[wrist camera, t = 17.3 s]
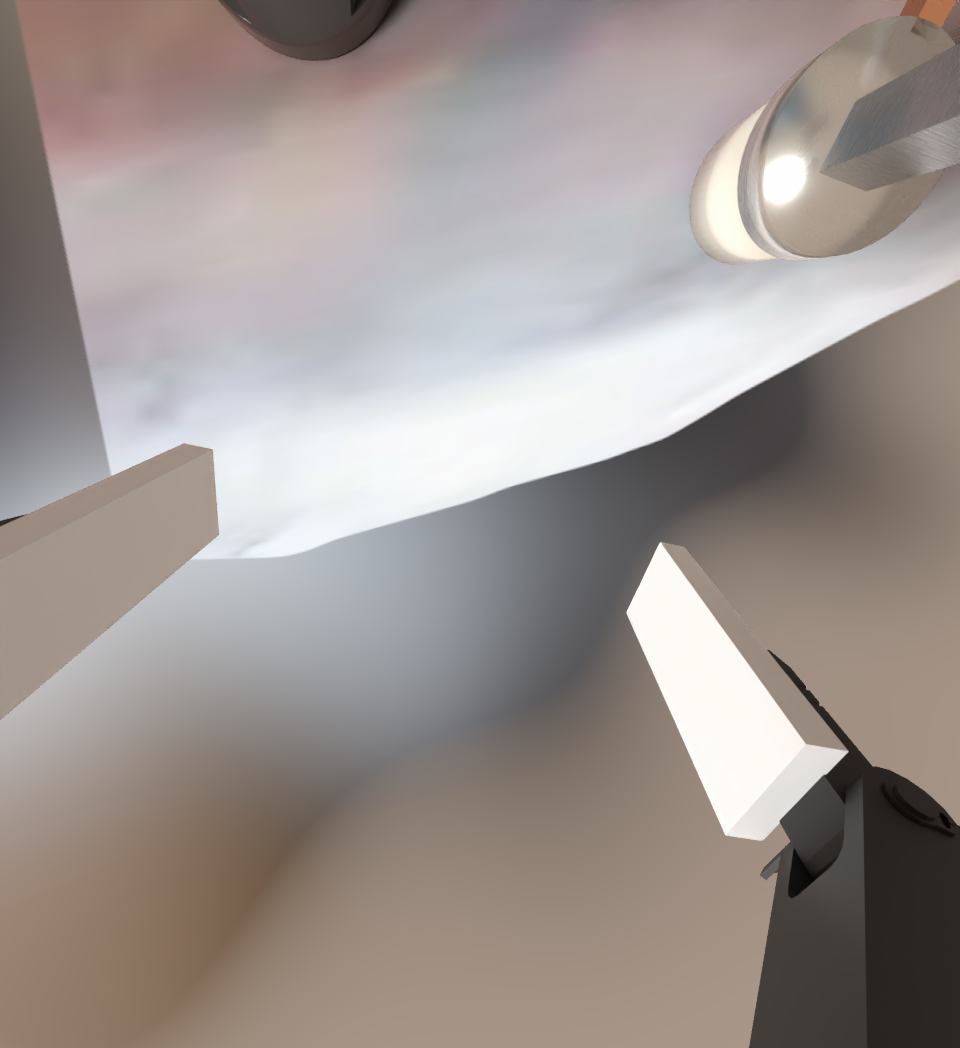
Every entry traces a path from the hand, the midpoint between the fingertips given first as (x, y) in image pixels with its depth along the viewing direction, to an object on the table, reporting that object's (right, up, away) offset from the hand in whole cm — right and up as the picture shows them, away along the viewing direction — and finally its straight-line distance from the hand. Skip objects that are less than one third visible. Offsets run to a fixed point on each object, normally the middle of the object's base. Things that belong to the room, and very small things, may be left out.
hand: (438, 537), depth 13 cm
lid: (+23, +24, +14) cm, 36 cm away
